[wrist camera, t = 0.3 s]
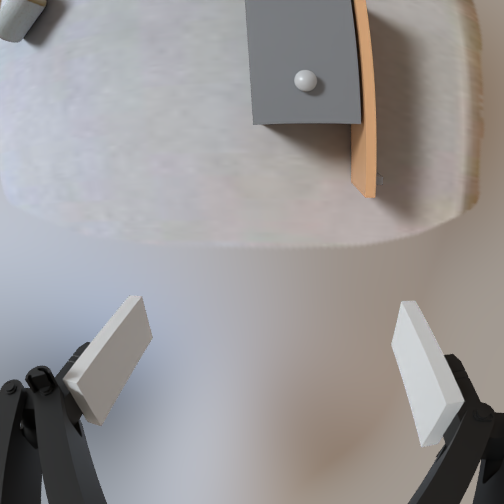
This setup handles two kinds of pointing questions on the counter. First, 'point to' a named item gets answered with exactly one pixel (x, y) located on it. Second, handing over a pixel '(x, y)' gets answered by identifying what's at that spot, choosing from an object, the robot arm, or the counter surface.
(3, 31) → the ceramic mug
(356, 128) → the door
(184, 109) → the counter surface
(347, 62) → the camera housing
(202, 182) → the counter surface
